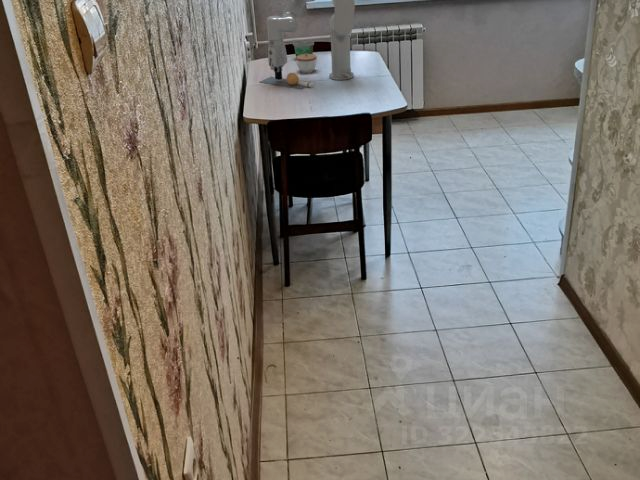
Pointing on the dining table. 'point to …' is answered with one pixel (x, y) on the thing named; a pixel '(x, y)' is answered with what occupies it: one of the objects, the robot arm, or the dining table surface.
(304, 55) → the lidded jar
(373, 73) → the dining table surface
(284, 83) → the grey flat board
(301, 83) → the pin
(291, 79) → the ball
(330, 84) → the dining table surface
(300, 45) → the food container
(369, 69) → the dining table surface
